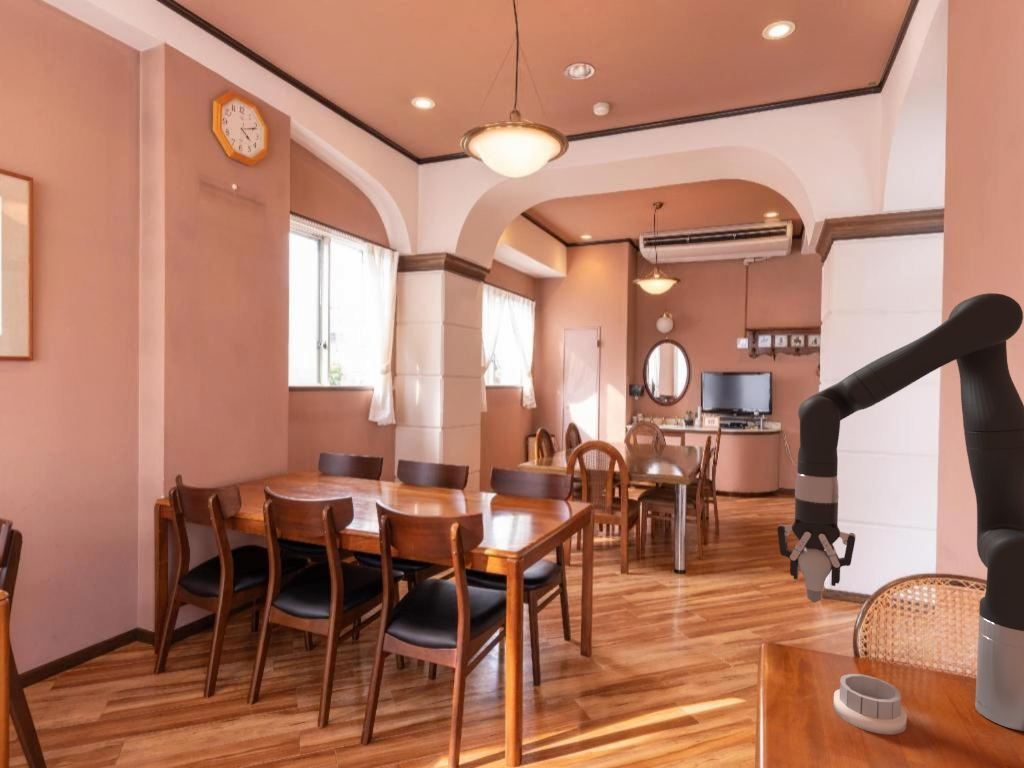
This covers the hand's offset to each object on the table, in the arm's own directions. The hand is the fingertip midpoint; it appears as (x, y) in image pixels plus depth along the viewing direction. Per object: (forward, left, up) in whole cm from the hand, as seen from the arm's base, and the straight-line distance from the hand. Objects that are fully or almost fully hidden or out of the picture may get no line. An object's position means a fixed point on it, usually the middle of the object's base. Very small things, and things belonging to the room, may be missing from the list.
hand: (814, 581), depth 116 cm
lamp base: (-4, +13, -19) cm, 23 cm away
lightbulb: (0, 0, -4) cm, 4 cm away
